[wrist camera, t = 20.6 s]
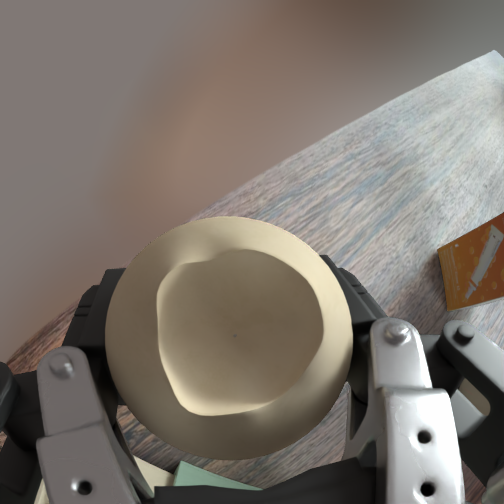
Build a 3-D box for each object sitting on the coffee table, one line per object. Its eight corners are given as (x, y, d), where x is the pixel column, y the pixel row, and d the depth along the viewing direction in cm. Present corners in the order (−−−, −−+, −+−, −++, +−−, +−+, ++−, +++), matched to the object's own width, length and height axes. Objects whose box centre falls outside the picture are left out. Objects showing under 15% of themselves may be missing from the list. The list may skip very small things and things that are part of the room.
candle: (228, 423, 13) (266, 531, 4) (138, 351, 14) (26, 341, 4) (297, 336, 15) (428, 302, 6) (210, 267, 16) (219, 136, 6)
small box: (435, 249, 34) (509, 206, 22) (466, 248, 35) (535, 211, 22) (446, 313, 31) (529, 289, 19) (477, 307, 32) (553, 283, 20)
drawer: (20, 471, 19) (-19, 491, 11) (45, 391, 22) (0, 398, 15) (163, 552, 18) (155, 595, 11) (204, 478, 22) (204, 518, 15)
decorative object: (465, 346, 33) (471, 413, 30) (426, 371, 28) (433, 448, 25) (547, 326, 22) (551, 403, 19) (530, 353, 17) (530, 448, 14)
